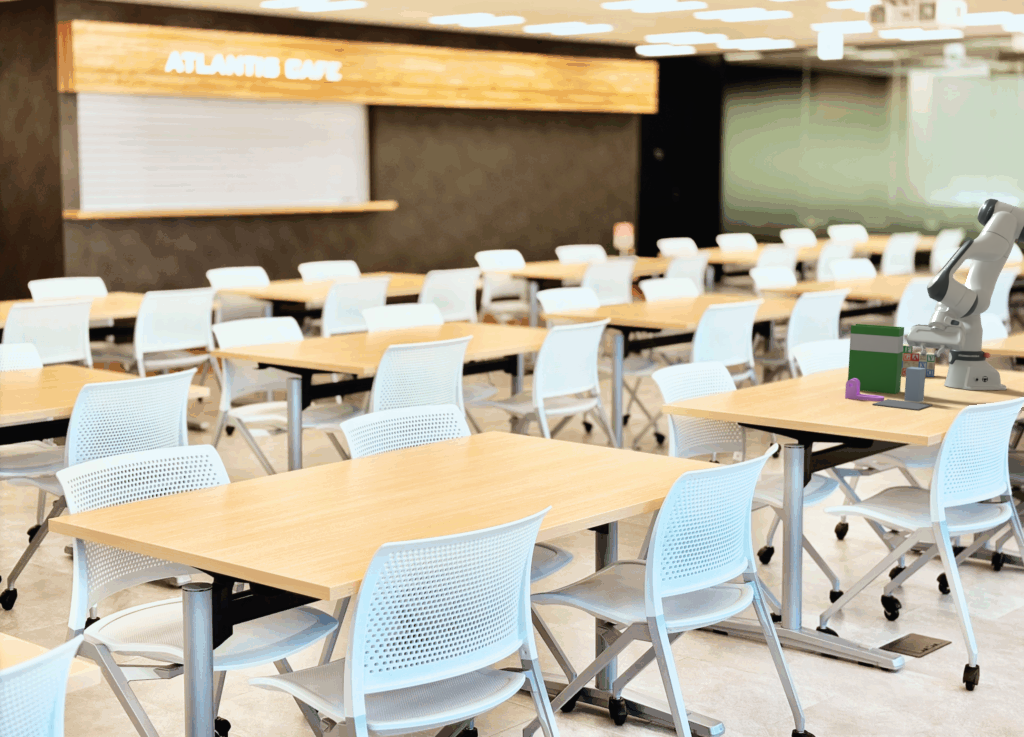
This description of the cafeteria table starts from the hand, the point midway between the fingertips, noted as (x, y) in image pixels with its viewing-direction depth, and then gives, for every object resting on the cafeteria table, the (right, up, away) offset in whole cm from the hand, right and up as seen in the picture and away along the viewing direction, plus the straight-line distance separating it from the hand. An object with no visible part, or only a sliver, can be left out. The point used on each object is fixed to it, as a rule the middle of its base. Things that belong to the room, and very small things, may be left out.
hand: (929, 355), depth 473 cm
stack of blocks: (+11, -7, +64) cm, 65 cm away
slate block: (-8, -16, -8) cm, 20 cm away
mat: (-14, -17, -16) cm, 28 cm away
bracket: (-24, -16, -3) cm, 29 cm away
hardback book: (-15, -13, +17) cm, 27 cm away
